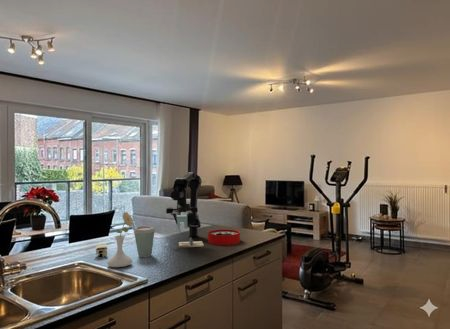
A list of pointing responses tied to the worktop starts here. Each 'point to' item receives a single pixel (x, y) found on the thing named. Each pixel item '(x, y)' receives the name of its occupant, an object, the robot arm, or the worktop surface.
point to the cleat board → (191, 243)
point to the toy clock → (223, 237)
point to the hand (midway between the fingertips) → (182, 224)
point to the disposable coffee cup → (144, 240)
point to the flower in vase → (120, 257)
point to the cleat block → (181, 219)
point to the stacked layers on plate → (101, 250)
